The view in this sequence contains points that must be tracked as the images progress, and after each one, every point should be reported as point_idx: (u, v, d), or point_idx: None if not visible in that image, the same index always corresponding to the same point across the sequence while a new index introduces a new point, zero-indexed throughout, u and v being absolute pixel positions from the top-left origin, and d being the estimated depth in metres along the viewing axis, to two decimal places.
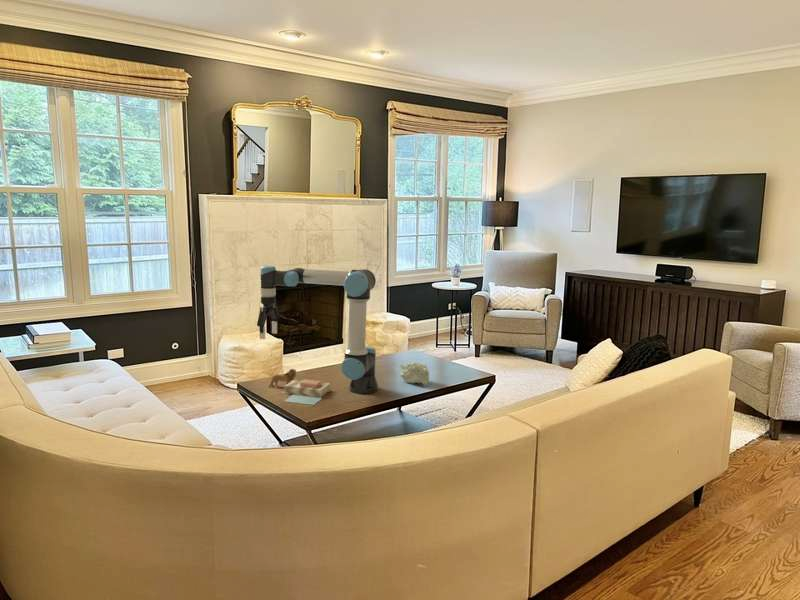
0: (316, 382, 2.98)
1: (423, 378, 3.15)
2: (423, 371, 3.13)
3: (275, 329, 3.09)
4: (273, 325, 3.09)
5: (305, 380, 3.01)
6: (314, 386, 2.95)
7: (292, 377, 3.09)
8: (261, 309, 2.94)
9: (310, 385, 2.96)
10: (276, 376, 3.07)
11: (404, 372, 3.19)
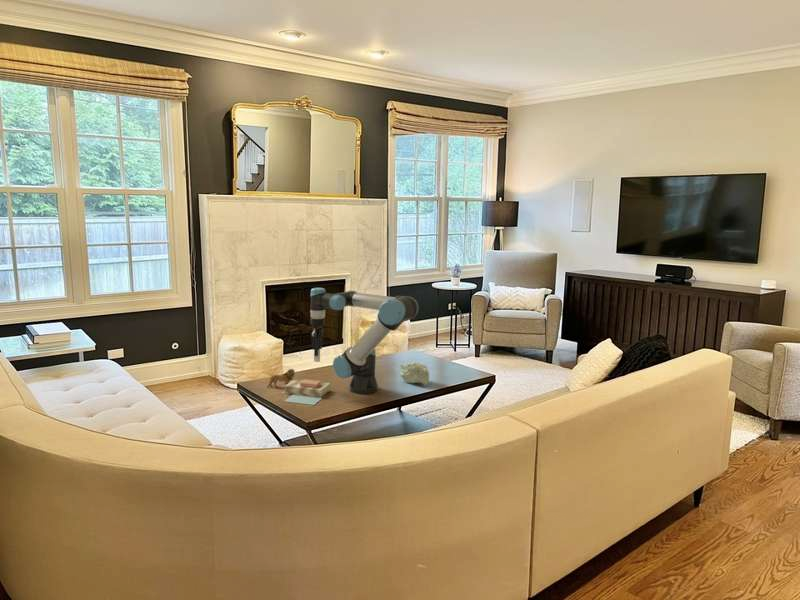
0: (316, 382, 2.98)
1: (423, 378, 3.15)
2: (423, 371, 3.13)
3: None
4: None
5: (305, 380, 3.01)
6: (314, 386, 2.95)
7: (290, 377, 3.08)
8: (312, 335, 2.98)
9: (310, 385, 2.96)
10: (275, 376, 3.06)
11: (404, 372, 3.19)
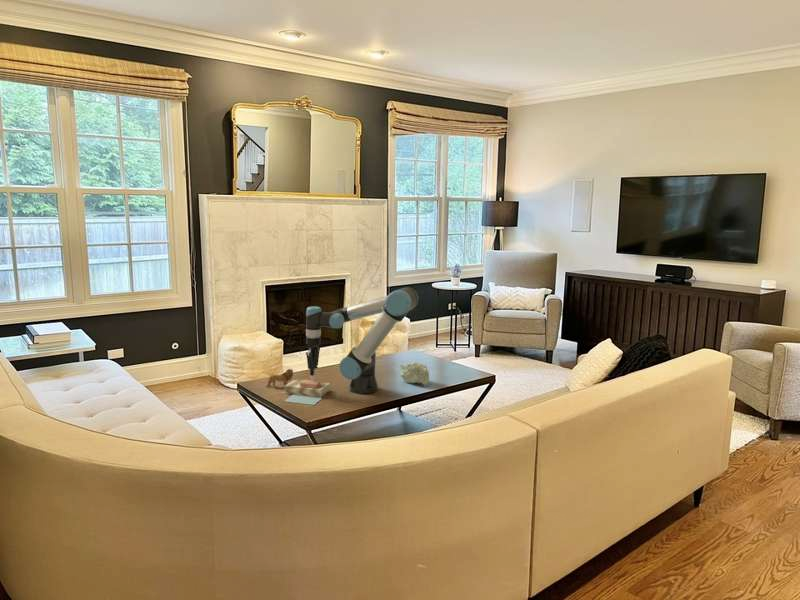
0: (316, 382, 2.98)
1: (423, 378, 3.15)
2: (423, 371, 3.13)
3: None
4: None
5: (305, 380, 3.01)
6: (314, 386, 2.95)
7: (289, 377, 3.08)
8: (307, 355, 2.94)
9: (310, 385, 2.96)
10: (273, 376, 3.06)
11: (404, 372, 3.19)
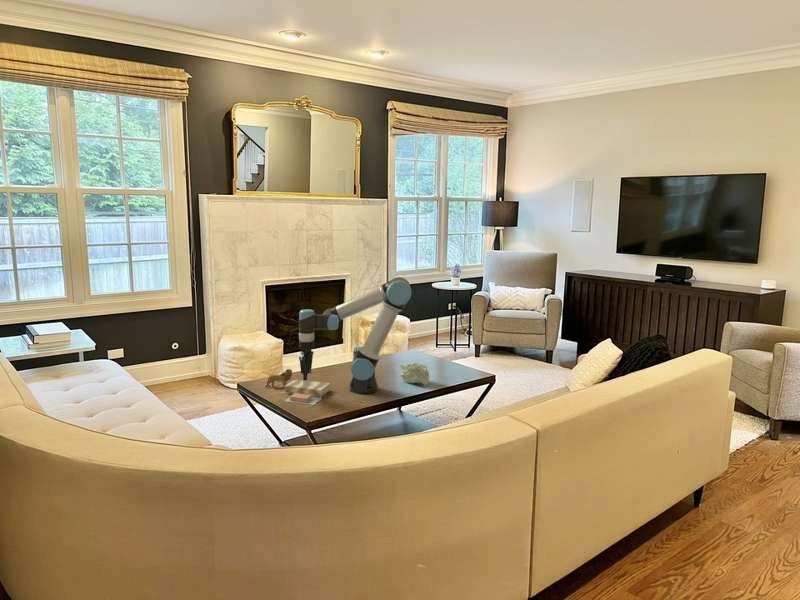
0: None
1: (423, 378, 3.15)
2: (423, 371, 3.13)
3: None
4: None
5: None
6: None
7: (288, 377, 3.08)
8: (300, 359, 2.86)
9: None
10: (272, 376, 3.06)
11: (404, 372, 3.19)
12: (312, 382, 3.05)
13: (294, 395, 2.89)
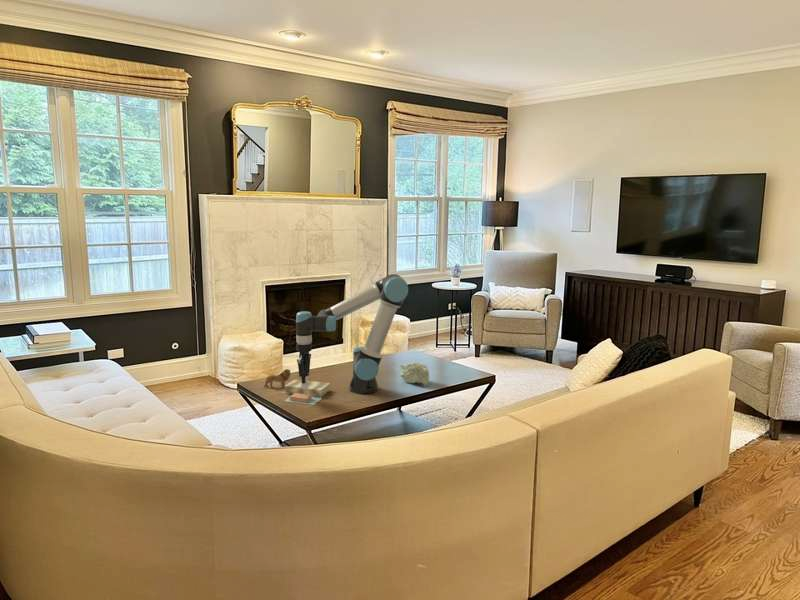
0: None
1: (423, 378, 3.15)
2: (423, 371, 3.13)
3: None
4: None
5: None
6: None
7: (286, 377, 3.08)
8: (299, 362, 2.83)
9: None
10: (271, 376, 3.06)
11: (404, 372, 3.19)
12: (312, 382, 3.05)
13: (294, 395, 2.89)
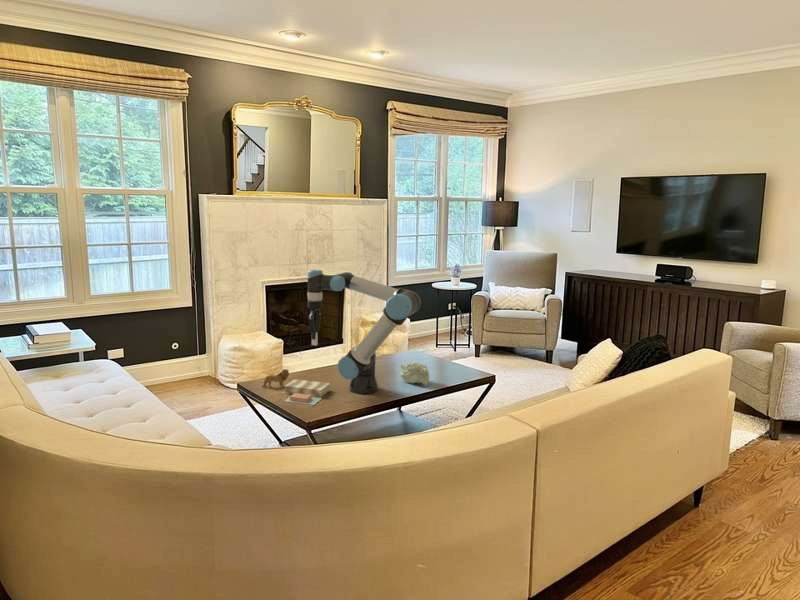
0: None
1: (423, 378, 3.15)
2: (423, 371, 3.13)
3: None
4: None
5: None
6: None
7: (285, 377, 3.08)
8: (309, 318, 2.93)
9: None
10: (269, 377, 3.05)
11: (404, 372, 3.19)
12: (312, 382, 3.05)
13: (294, 395, 2.89)
